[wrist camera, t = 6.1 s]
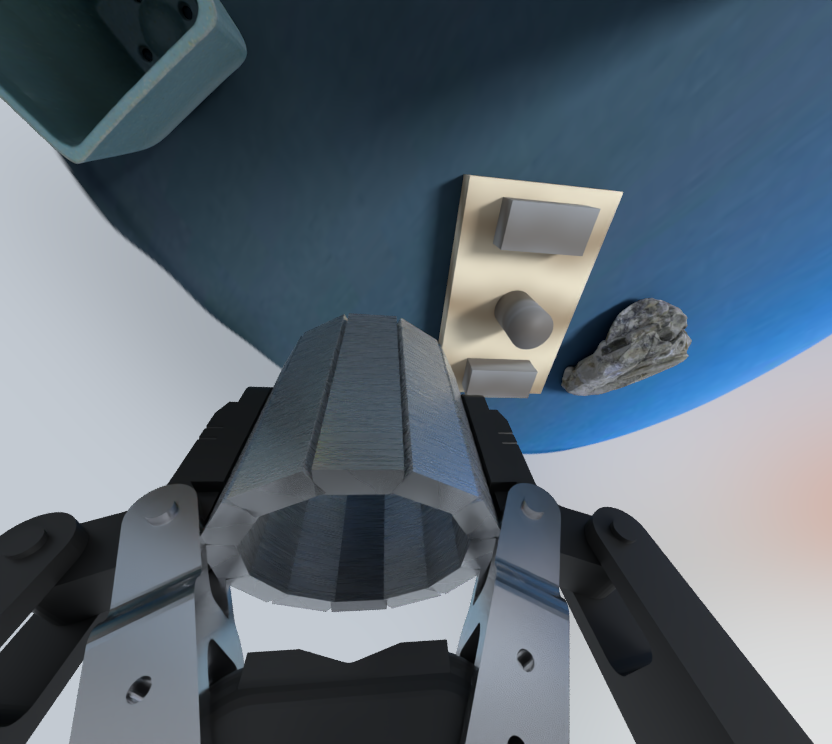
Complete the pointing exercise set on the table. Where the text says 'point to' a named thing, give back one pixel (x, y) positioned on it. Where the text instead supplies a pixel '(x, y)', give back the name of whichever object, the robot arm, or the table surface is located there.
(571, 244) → the shaft block
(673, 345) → the fossilized seashell
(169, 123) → the flower pot
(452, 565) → the hub ring
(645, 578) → the robot arm
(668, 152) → the table surface
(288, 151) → the table surface
